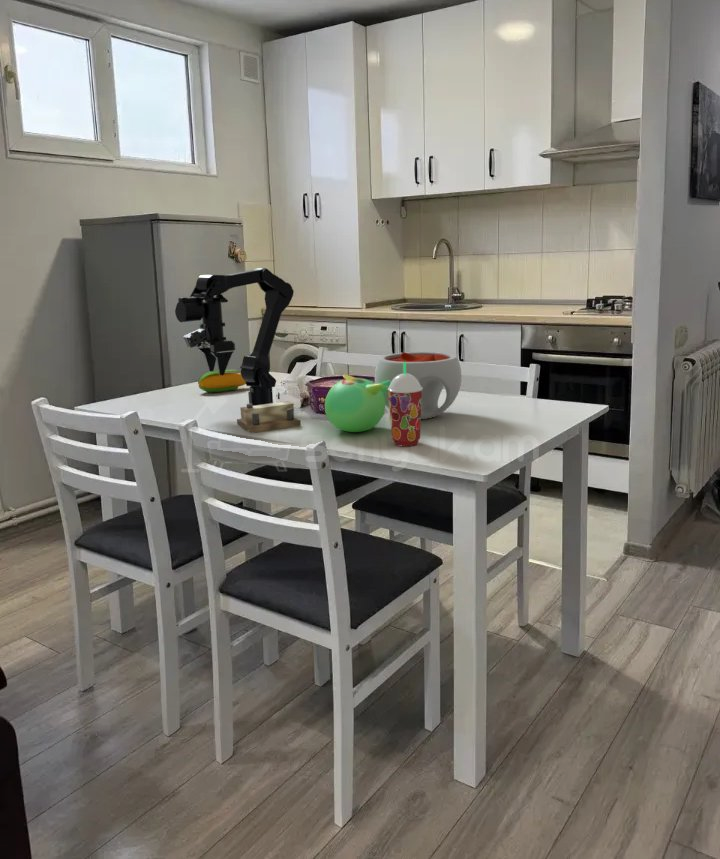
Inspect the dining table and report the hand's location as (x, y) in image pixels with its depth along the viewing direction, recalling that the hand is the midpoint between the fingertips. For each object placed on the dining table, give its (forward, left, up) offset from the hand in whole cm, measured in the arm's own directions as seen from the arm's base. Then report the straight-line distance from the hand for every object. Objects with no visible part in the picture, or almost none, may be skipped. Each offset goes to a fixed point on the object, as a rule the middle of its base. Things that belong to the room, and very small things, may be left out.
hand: (216, 373), depth 223 cm
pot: (-46, +37, -13) cm, 60 cm away
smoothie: (-27, +61, -13) cm, 68 cm away
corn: (-15, -38, -13) cm, 43 cm away
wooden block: (-7, +21, -11) cm, 25 cm away
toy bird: (-24, +42, -13) cm, 50 cm away
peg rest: (-7, +21, -12) cm, 26 cm away
